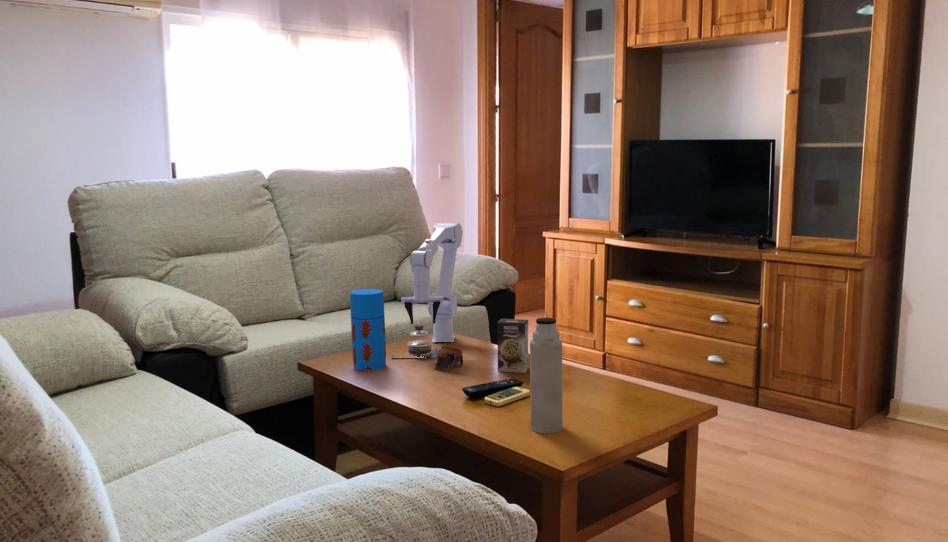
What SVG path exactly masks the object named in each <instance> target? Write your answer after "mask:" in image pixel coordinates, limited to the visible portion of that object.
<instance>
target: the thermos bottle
mask: <svg viewBox="0 0 948 542" xmlns="http://www.w3.org/2000/svg"><path fill="white" fill-rule="evenodd" d="M556 322H557V320H556V318H554V317H538V318H536V320H535V323H536V324H535V330H533V331H532V335H531V340H529V354H530V355H529V356H530V357H529V359H530V360H529V361H530V362H529V372H530V374H529V385H530V386H529V387H530V389H529V390H530V391H529V395H530V399H529V401H530V404H529V405H530V429H531V430H532V431H533V432H535V433H538V434H539V433H540V434H555V433H559V432H561V431H562V430H563V423H564V422H563V420H564V419H563V418H564V417H563V340H562V339H560V336H561V335H560V331H559V330H557V328H556V326H557V325H556Z"/></svg>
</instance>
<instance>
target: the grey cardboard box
mask: <svg viewBox="0 0 948 542" xmlns="http://www.w3.org/2000/svg"><path fill="white" fill-rule="evenodd" d="M528 369H529V319H523V318H522V319H521V318H520V319H518V318H500V319H499V320H498V321H497V372H502V373H503V372H505V373H519V374H520V373H521V374H524V373H526V372H527V371H528Z"/></svg>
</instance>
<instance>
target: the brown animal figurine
mask: <svg viewBox="0 0 948 542" xmlns="http://www.w3.org/2000/svg"><path fill="white" fill-rule="evenodd" d="M440 348H441V350H439V351H438V353H437V358H436V362H434V370H440V371H443V372H449V368H451V369H452V370H455V369H456V368H458V364H459V366H460V365H461V366H463V364H464V356H463V354H464V352H463V350H462V349H459V348H458V347H455V346H450V345H449V346H448V345H443V346H441V347H440Z"/></svg>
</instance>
